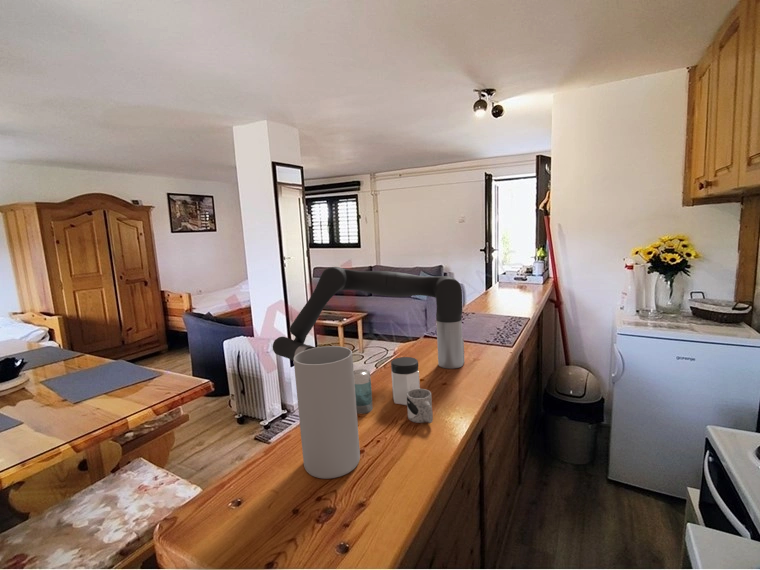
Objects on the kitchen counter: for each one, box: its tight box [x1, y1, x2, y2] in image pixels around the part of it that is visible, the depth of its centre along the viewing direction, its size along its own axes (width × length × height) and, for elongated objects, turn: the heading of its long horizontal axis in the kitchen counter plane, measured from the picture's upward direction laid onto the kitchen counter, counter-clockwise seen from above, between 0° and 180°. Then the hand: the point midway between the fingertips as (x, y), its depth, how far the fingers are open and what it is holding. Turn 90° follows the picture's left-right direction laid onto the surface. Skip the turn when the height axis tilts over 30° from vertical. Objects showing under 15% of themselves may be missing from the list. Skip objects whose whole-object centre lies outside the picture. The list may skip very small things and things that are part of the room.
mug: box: [406, 388, 434, 424], centre depth 99 cm, size 10×7×7 cm, turn 21°
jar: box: [390, 356, 421, 406], centre depth 112 cm, size 9×8×12 cm
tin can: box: [354, 368, 374, 415], centre depth 107 cm, size 6×6×11 cm
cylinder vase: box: [293, 345, 361, 480], centre depth 82 cm, size 12×12×25 cm
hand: (337, 368), depth 115 cm, fingers open, 8 cm apart
